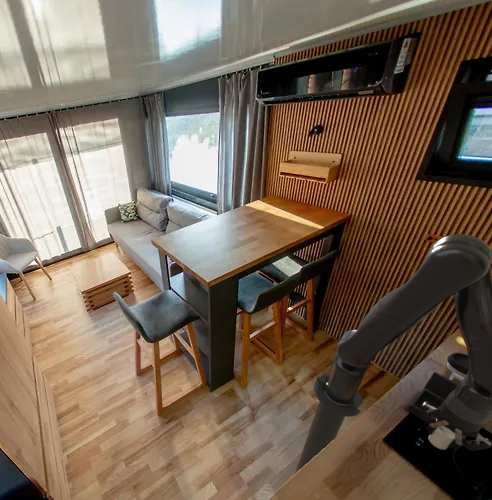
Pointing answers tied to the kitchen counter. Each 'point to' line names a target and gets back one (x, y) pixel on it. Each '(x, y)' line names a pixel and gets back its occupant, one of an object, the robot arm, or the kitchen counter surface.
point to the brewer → (419, 400)
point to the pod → (441, 437)
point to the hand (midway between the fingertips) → (440, 438)
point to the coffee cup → (456, 366)
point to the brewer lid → (442, 384)
